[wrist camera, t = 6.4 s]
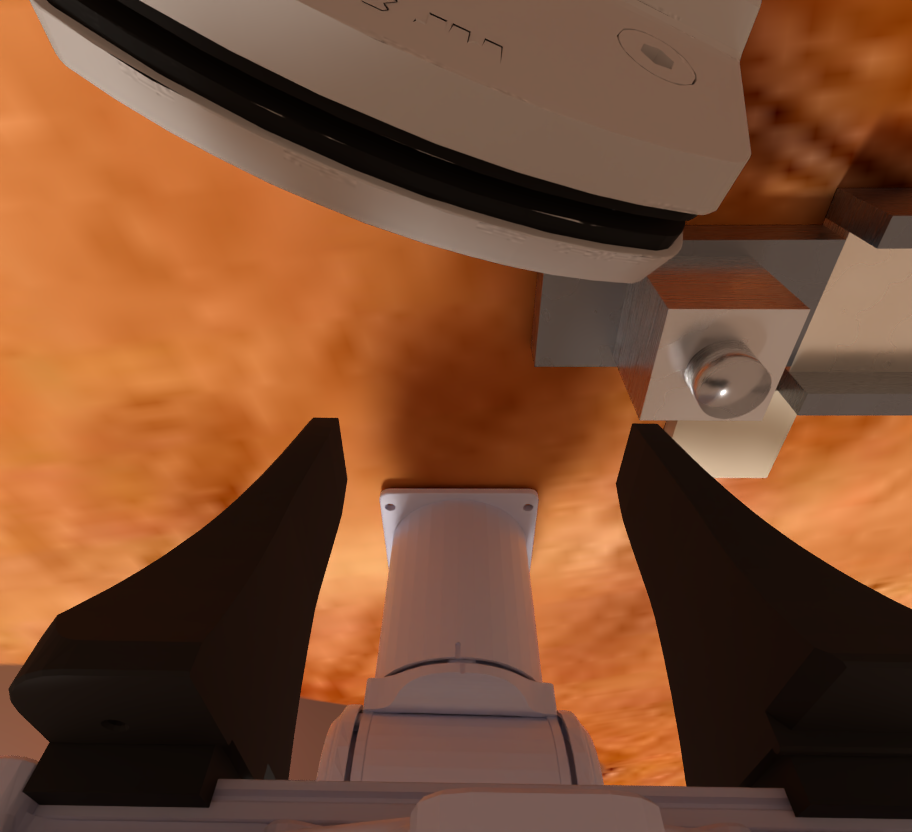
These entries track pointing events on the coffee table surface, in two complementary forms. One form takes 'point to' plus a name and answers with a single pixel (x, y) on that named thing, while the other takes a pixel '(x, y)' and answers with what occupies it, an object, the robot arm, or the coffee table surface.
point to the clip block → (706, 339)
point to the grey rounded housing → (449, 112)
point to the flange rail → (809, 278)
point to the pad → (736, 441)
